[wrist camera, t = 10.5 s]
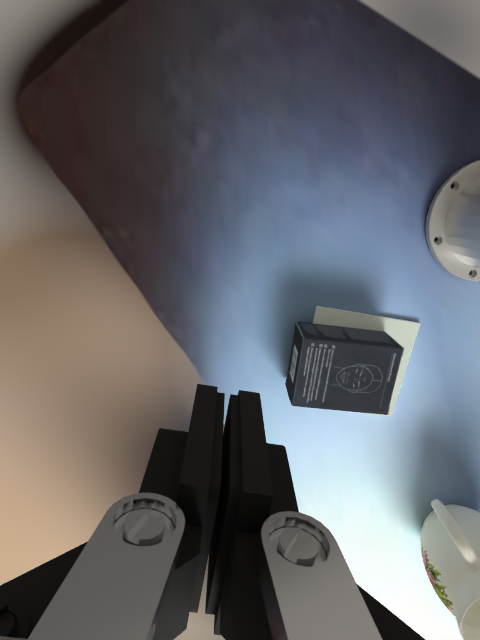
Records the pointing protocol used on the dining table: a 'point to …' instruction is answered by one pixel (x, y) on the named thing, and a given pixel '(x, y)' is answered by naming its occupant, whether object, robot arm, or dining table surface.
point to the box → (342, 368)
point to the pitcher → (454, 562)
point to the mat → (394, 327)
